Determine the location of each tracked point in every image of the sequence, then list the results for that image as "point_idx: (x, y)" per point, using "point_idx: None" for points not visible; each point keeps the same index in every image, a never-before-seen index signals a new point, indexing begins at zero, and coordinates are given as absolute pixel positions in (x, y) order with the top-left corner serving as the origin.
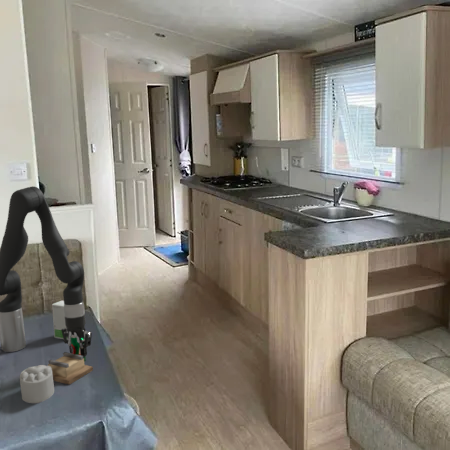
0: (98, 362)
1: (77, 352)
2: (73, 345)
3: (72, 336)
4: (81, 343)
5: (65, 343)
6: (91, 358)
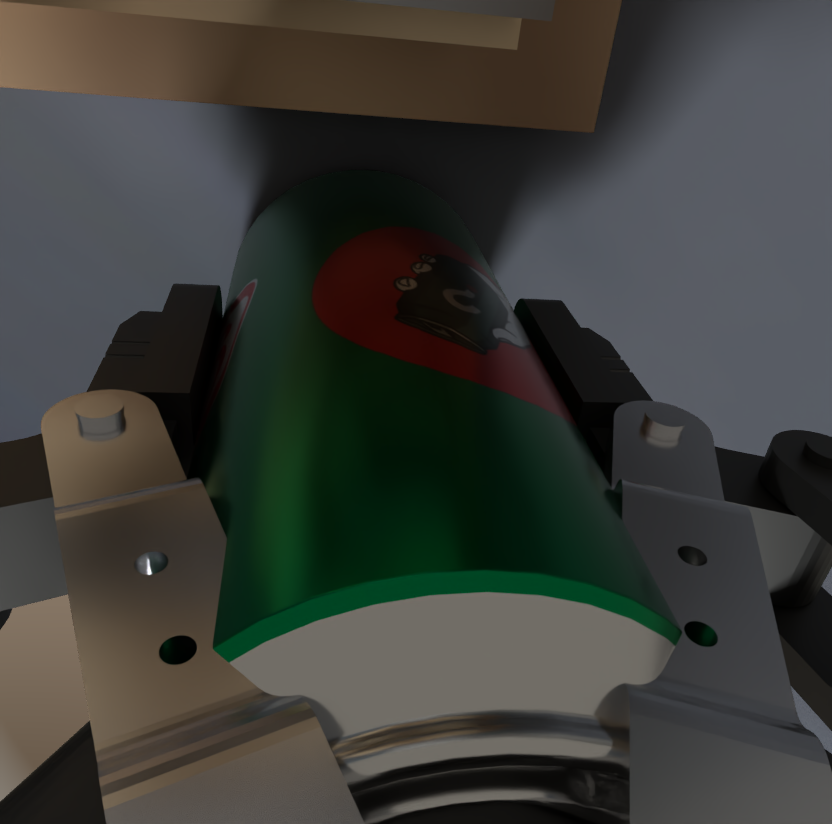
0: (9, 385)
1: (279, 288)
2: (387, 356)
3: (493, 658)
4: (62, 502)
5: (806, 433)
6: None
